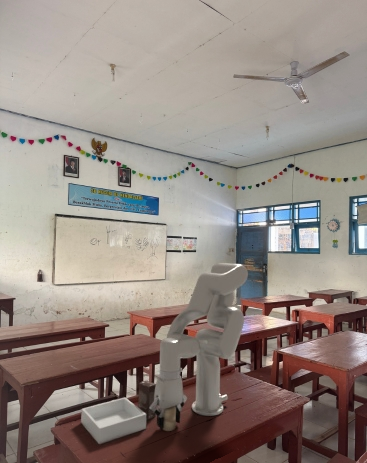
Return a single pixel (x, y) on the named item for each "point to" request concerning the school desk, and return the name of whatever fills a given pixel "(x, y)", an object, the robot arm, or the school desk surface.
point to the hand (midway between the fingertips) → (168, 423)
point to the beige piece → (169, 418)
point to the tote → (113, 420)
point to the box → (146, 398)
